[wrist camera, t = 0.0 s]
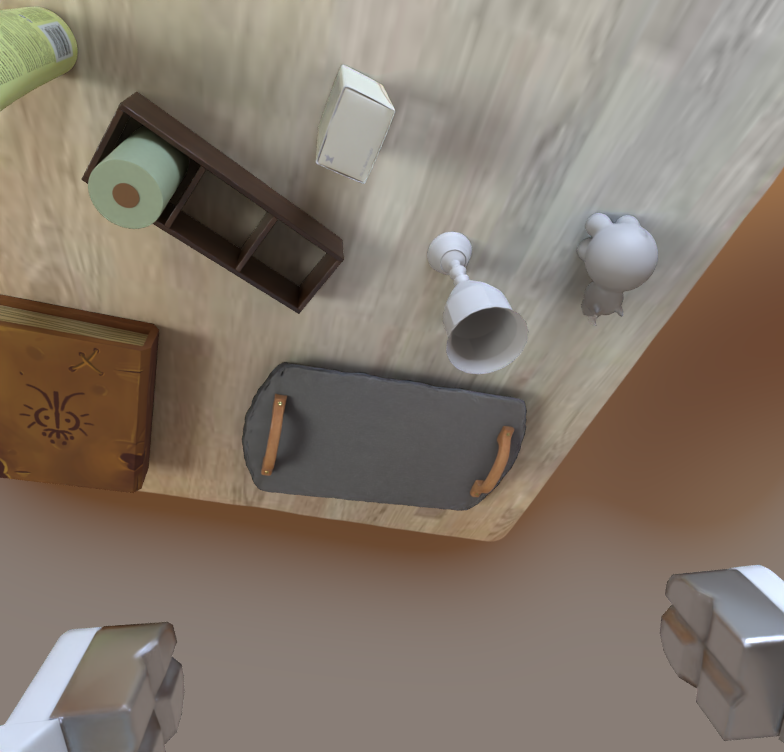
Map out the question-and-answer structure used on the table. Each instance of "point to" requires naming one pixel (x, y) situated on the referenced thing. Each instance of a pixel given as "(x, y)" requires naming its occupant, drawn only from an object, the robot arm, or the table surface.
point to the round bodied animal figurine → (614, 262)
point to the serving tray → (379, 438)
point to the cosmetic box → (353, 125)
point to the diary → (75, 396)
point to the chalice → (475, 312)
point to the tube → (32, 51)
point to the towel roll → (137, 179)
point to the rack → (247, 185)
